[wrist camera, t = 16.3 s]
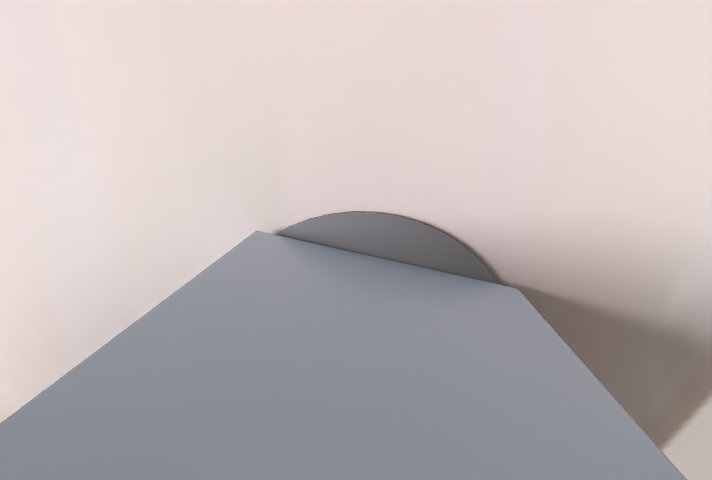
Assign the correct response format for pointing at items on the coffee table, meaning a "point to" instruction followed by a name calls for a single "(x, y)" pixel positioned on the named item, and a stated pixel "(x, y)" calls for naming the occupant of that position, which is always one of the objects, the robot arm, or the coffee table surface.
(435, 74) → the coffee table surface
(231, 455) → the blue box
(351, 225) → the disc
